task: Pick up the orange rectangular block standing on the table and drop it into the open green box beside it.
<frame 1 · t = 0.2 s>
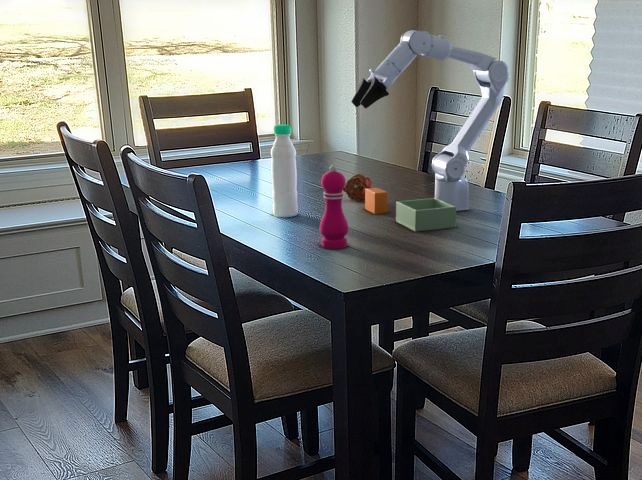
hand: (358, 105, 229), 31 cm above the table, tool tilted 45°, fingers open, 7 cm apart
water bottle: (285, 215, 243), on the table
open green box: (425, 224, 233), on the table
orange rectangular block: (376, 210, 248), on the table
dragon fruit: (358, 200, 262), on the table
pepper mill: (334, 246, 213), on the table
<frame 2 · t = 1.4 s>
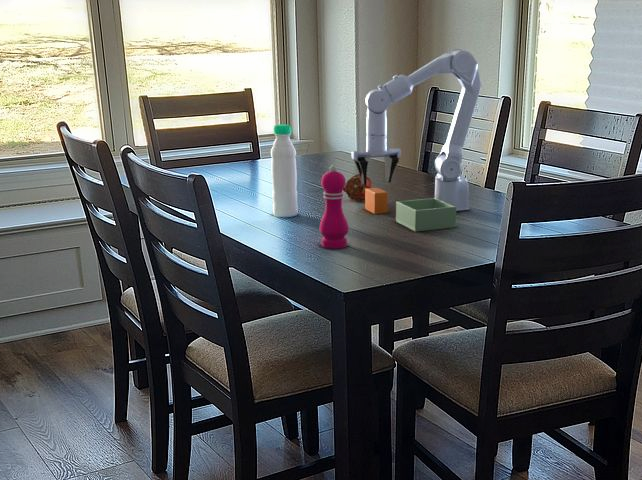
hand: (376, 183, 245), 8 cm above the table, tool pointing down, fingers open, 7 cm apart
nothing on the table moved.
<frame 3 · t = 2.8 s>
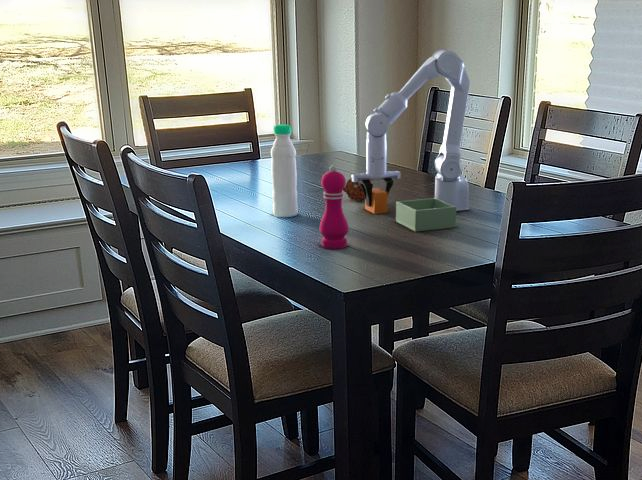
hand: (376, 205, 247), 2 cm above the table, tool pointing down, fingers closed on orange rectangular block, 4 cm apart
orange rectangular block: (375, 210, 248), on the table, touching gripper
everything else where it was.
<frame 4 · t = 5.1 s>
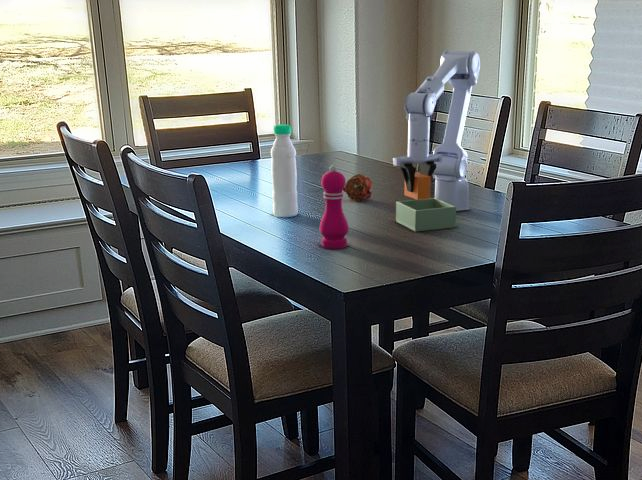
hand: (417, 190, 232), 9 cm above the table, tool pointing down, fingers closed on orange rectangular block, 4 cm apart
orange rectangular block: (417, 196, 233), point 7 cm above the table, touching gripper
everything else where it was.
when the fingers open (2 cm above the table, at t = 7.7 s): orange rectangular block stays where it is, resting on open green box.
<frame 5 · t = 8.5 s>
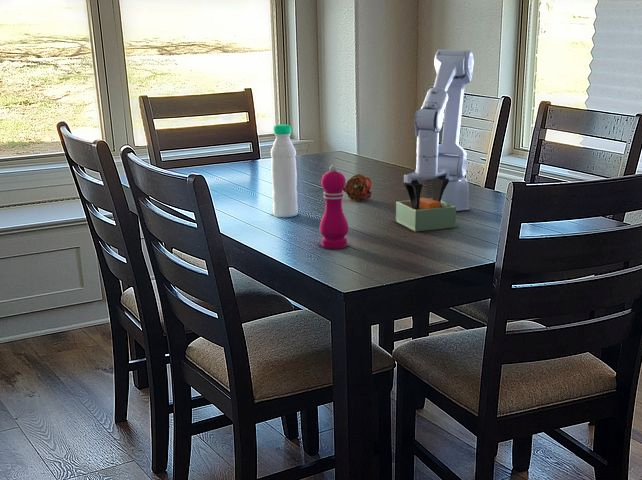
hand: (425, 206, 231), 5 cm above the table, tool pointing down, fingers open, 7 cm apart
orange rectangular block: (425, 222, 233), point 1 cm above the table, touching open green box
everything else where it was.
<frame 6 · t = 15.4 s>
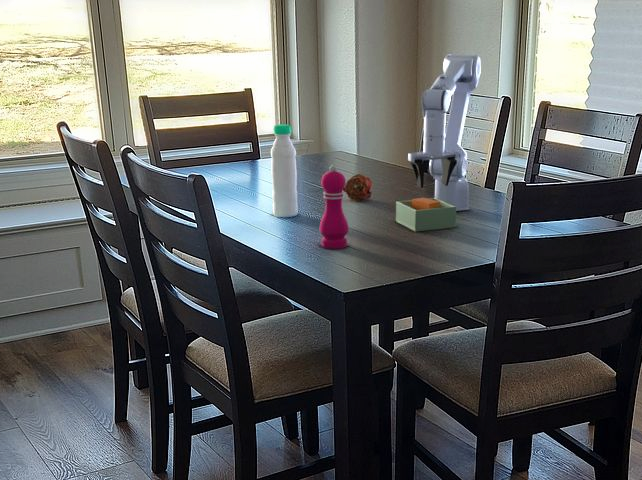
hand: (432, 186, 235), 9 cm above the table, tool pointing down, fingers open, 7 cm apart
nothing on the table moved.
at the end: orange rectangular block inside the target area in the open green box (0.0 cm from its centre), point 0.6 cm above the open green box's base; the gripper is holding nothing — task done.
